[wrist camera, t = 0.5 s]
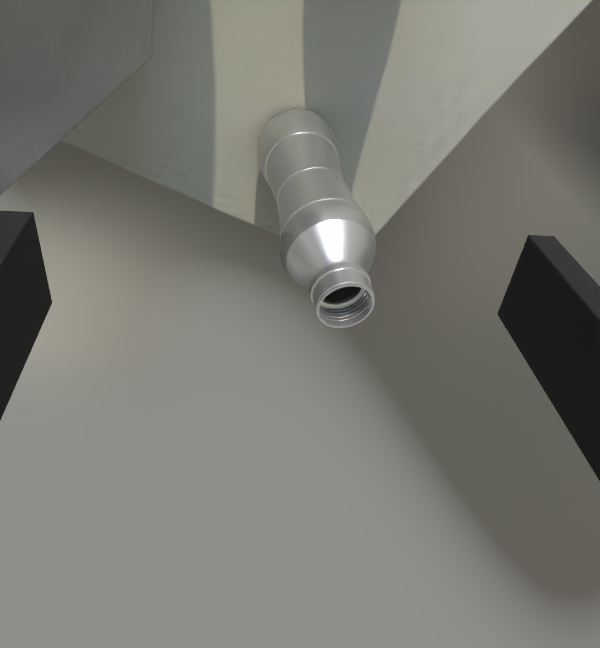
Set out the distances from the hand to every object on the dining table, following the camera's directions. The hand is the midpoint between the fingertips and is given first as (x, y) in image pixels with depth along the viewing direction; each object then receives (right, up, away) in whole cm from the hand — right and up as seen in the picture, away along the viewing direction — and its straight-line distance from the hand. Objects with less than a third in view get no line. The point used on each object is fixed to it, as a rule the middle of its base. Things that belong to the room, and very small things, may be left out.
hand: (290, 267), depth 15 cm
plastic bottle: (0, +14, +31) cm, 34 cm away
